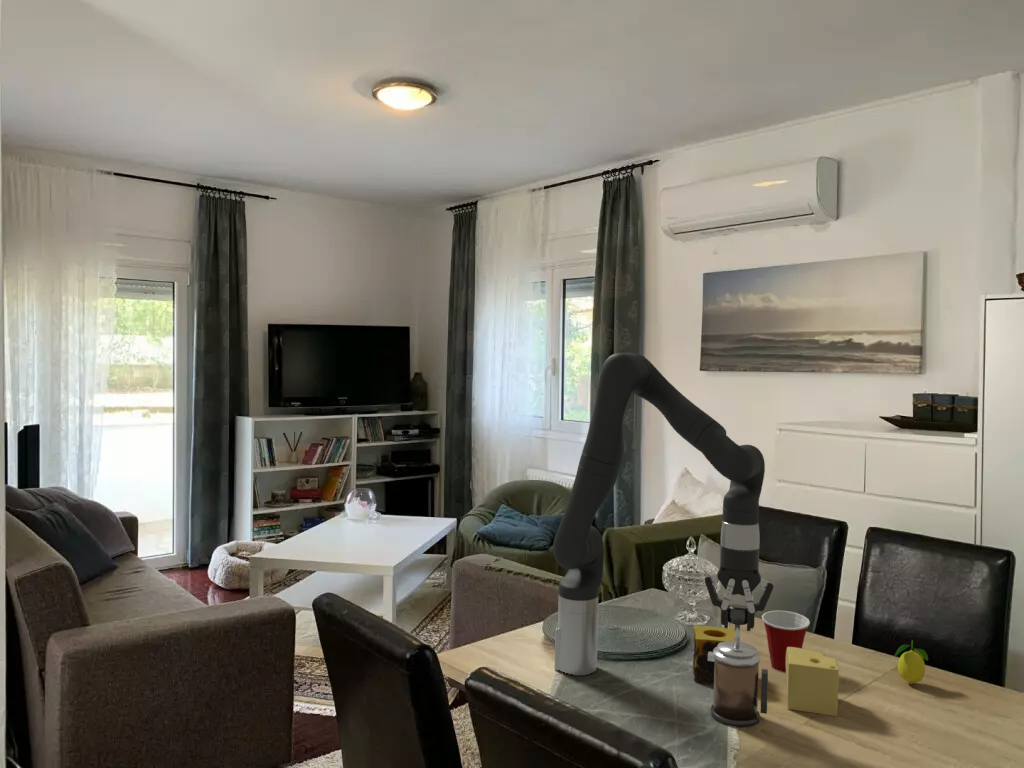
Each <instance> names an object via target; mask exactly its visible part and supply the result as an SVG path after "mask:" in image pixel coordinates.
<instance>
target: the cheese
mask: <svg viewBox="0 0 1024 768" xmlns="http://www.w3.org/2000/svg"><path fill="white" fill-rule="evenodd" d="M785 675H786V684H787V688H786V689H787V690H786V691H787V692H786V702H787V704H786V705H787V707H786V709H788V710H792V711H798V712H800V711H801V712H805V713H813V714H820V715H826V716H833V717H838V710H839V709H838V706H839V676H840V674H839V666H838V662H837V659H836V658H835V657H834V658H832V657H829V656H826V655H825V654H824V653H823V652H820V651H817V650H816V651H815V650H812V649H811V650H810V649H805V648H803V647H802V648H796V647H787V651H786V672H785Z"/></svg>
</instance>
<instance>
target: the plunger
mask: <svg viewBox="0 0 1024 768" xmlns="http://www.w3.org/2000/svg"><path fill="white" fill-rule="evenodd" d="M747 612H748V606H747V605H742V604H739V603H738V604H737V603H735V604H733V603H732V604H728V624H731V625H734V629H735V641H725V642H721V643H719V644H718V646H717V649H718V651H719V652H720V653H722V654H725V655H727V656H731V657H738V658H748V657H753V656H755V655H756V651H757V647H755V646H754V645H751V644H749V643H746V642H743V641H741V639H740V638H741V637H740V636H741V626H745V625H747Z"/></svg>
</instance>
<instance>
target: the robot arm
mask: <svg viewBox="0 0 1024 768" xmlns="http://www.w3.org/2000/svg"><path fill="white" fill-rule="evenodd" d="M599 374H600V375H599V378H598V383H597V384H598V386H597V391H596V397H595V404H594V409H593V411H592V416H591V420H590V423H589V426H588V427H589V428H588V431H587V435H586V439H585V443H584V446H583V449H582V452H581V455H580V459H579V461H578V465H577V470H576V475H575V478H574V481H573V484H572V487H571V488H572V489H571V491H570V495H569V498H568V502H567V504H566V505H567V506H566V508H565V511H564V512H563V515H562V518H561V520H560V523H559V526H558V528H557V531H556V533H555V536H554V539H553V544H552V551H553V556H554V559H555V561H556V563H557V564H558V566H560V567H561V568H563V569H566V570H567V572H566V574H565V575H564V576H563V578H561V580H560V582H558V583H559V584H558V600H557V601H558V603H557V606H558V607H557V609H558V610H557V614H558V615H557V626H556V628H555V630H554V633H555V635H554V637H555V638H554V670H555V671H559V670H560V671H559V672H561V671H562V673H563V672H565V673H564V674H566V673H569V674H568V675H570V674H573V675H572V676H588V675H591V674H590V673H592V672H594V671H595V670H596V671H597V669H598V666H597V665H598V630H599V629H598V627H599V625H598V624H599V622H598V621H599V619H598V618H599V617H598V616H599V590H600V587H601V585H602V582H603V573H604V561H605V560H604V559H605V545H604V539H603V537H602V534H601V532H600V530H598V528H596V527H595V526H593V522H594V519H595V517H596V514H597V512H598V511H599V510H600V508H601V506H602V505H603V504H604V502H605V500H606V499H607V498H608V496H609V495H610V493H611V492H612V490H613V488H614V487H615V485H616V482H617V480H618V477H619V475H620V471H621V467H622V464H623V459H624V455H625V441H624V440H625V438H624V430H623V425H624V424H623V423H624V416H625V412H626V408H627V407H628V403H629V400H630V398H631V396H632V395H636V396H638V397H640V398H642V399H643V400H645V401H647V402H648V403H650V405H653V406H654V407H655V408H656V409H657V410H658V411H659V412H660V413H661V414H662V415H663V417H664V418H665V419H666V421H667V422H668V423H669V425H670V427H672V429H673V431H675V432H676V433H677V434H678V435H679V436H680V437H681V438H683V439H684V440H685V441H686V442H687V443H689V444H690V445H691V446H692V447H694V448H695V449H696V450H697V451H699V452H700V453H702V455H703V456H704V458H705V459H706V460H707V461H708V462H709V463H710V465H711V466H712V467H713V468H714V469H715V471H717V472H718V473H719V474H720V475H721V476H723V477H724V478H726V479H727V480H729V481H730V483H729V489H728V491H727V492H726V493H725V495H724V497H723V502H722V523H721V530H720V550H719V551H720V554H719V555H720V556H719V558H720V560H719V569H718V571H717V573H715V574H714V573H713V574H710V573H708V574H706V575H705V578H704V583H705V586H706V589H707V591H708V592H707V593H708V595H709V598H710V601H711V604H712V606H714V607H718V608H719V609H720V624H721V625H722V626H723V627H724V628H729V622H728V606H729V605H730V604H729V603H730V601H731V598H732V595H734V596H735V595H740V596H744V598H745V601H746V604H747V605H746V606H747V608H748V612H747V624H746V631H747V632H751V629H754V628H755V616H756V615H755V614H756V613H757V612H763V611H764V610H765V609H766V605H767V603H768V601H769V599H770V597H771V594H772V591H773V589H774V582H773V580H766V579H765V578H762V576H761V574H760V565H759V564H760V543H761V539H760V525H759V522H760V521H759V518H760V517H759V516H760V504H759V503H760V498H761V493H762V489H763V486H764V485H763V484H764V479H765V472H766V468H765V467H766V465H765V464H766V463H765V459H764V455H763V452H761V451H760V448H758V447H756V446H755V445H752V444H742V445H741V444H738V443H736V442H735V441H734V440H732V439H731V438H730V437H729V436H728V435H727V431H726V428H725V427H723V425H722V424H720V422H718V421H717V420H715V418H713V417H712V416H710V415H709V414H708V413H706V412H705V411H703V410H702V409H701V408H700V407H698V406H697V405H696V404H695V403H693V402H692V401H691V400H689V399H688V398H687V397H686V396H685V395H684V394H683V393H681V392H680V391H679V390H678V389H677V388H676V387H675V386H674V385H673V384H672V383H670V381H669V380H667V378H666V377H665V376H664V375H663V374H662V373H661V372H660V371H659V370H658V368H657V367H656V366H655V365H654V364H653V363H652V362H651V361H650V360H649V359H648V358H647V357H646V356H644V354H643V355H642V354H640V353H636V352H617V353H613V354H612V355H610V356H608V358H606V360H605V361H604V363H603V364H602V367H601V370H600V373H599ZM717 580H718V581H719V582H720V584H721V585H722V586H723V588H724V594H723V598H722V599H720V598H719V596H718V591H717V590H716V587H715V586H716V585H717V582H718V581H717ZM759 584H760V585H761V591H762V594H761V596H760V599H759V601H758V602H756V603H755V600H754V596H753V591H754V590H756V588H757V587H758V586H759ZM596 668H597V669H596ZM596 671H595V672H596ZM595 672H594V673H595ZM587 674H588V675H587ZM592 674H593V673H592Z"/></svg>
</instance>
